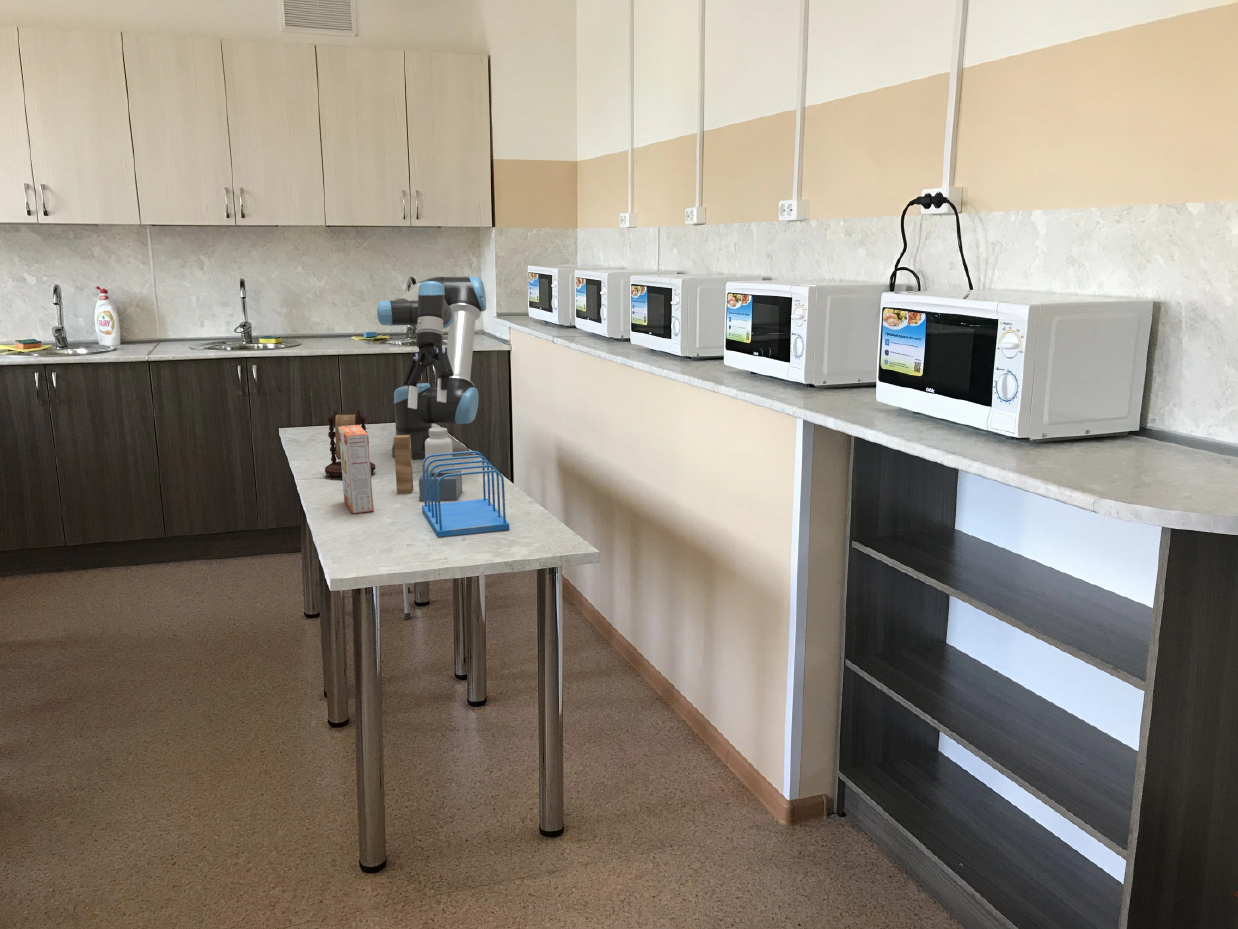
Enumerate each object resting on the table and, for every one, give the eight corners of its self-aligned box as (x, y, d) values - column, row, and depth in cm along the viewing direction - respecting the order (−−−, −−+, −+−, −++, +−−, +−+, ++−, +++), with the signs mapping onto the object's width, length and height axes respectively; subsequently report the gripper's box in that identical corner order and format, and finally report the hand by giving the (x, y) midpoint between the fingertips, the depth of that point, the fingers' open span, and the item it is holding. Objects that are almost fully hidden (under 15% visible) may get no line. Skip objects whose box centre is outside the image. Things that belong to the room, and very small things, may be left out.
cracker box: (342, 502, 266) (337, 425, 261) (365, 499, 268) (360, 424, 264) (350, 514, 253) (345, 434, 249) (374, 512, 256) (369, 432, 251)
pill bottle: (447, 482, 287) (445, 431, 284) (422, 481, 289) (419, 430, 286) (457, 476, 295) (455, 426, 292) (432, 475, 297) (429, 426, 293)
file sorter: (421, 512, 256) (418, 454, 253) (487, 505, 262) (485, 449, 258) (438, 538, 233) (434, 475, 230) (509, 530, 239) (507, 469, 235)
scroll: (319, 481, 290) (314, 413, 286) (332, 469, 305) (327, 405, 300) (369, 480, 291) (365, 413, 286) (380, 469, 305) (376, 405, 301)
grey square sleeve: (426, 491, 276) (425, 470, 275) (462, 491, 276) (461, 470, 275) (419, 500, 267) (418, 479, 265) (456, 500, 267) (455, 478, 265)
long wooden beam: (399, 490, 278) (396, 435, 274) (413, 490, 278) (410, 434, 274) (396, 493, 275) (393, 437, 271) (411, 493, 275) (408, 436, 271)
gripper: (393, 339, 294) (390, 408, 291) (446, 322, 278) (443, 396, 274) (414, 344, 300) (411, 412, 296) (467, 328, 283) (464, 401, 280)
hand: (426, 405), depth 285 cm, fingers open, 13 cm apart
